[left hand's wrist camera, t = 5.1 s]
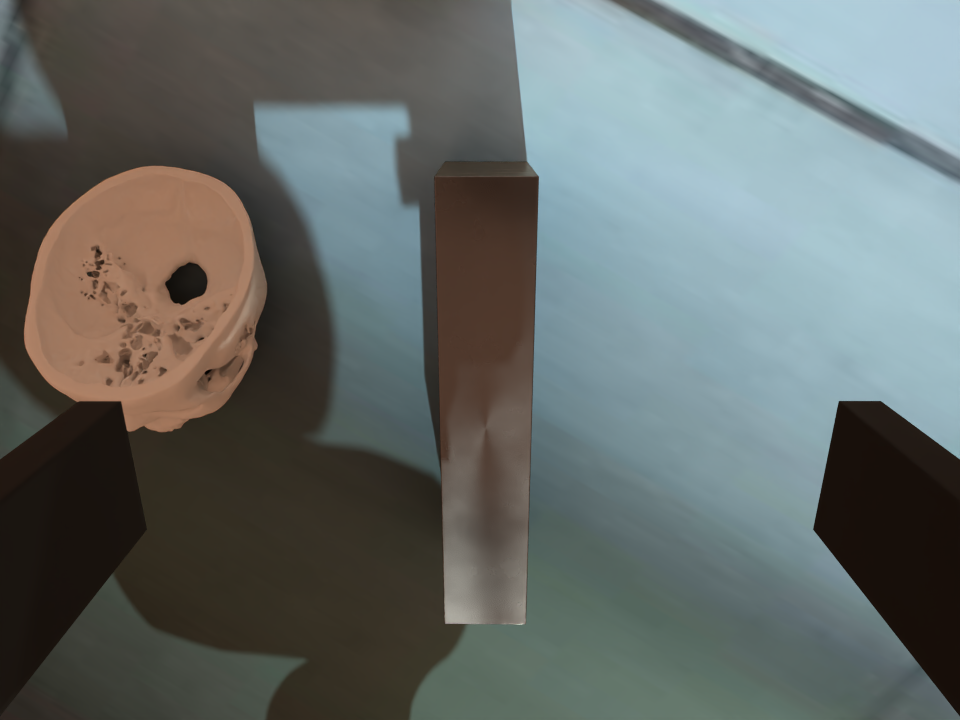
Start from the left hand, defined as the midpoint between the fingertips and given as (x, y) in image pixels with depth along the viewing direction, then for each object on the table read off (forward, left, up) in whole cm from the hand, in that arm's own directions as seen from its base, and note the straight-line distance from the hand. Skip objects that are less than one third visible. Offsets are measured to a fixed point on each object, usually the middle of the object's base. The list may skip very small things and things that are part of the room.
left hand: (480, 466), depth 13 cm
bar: (+6, +7, -29) cm, 30 cm away
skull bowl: (+15, -9, -29) cm, 34 cm away
